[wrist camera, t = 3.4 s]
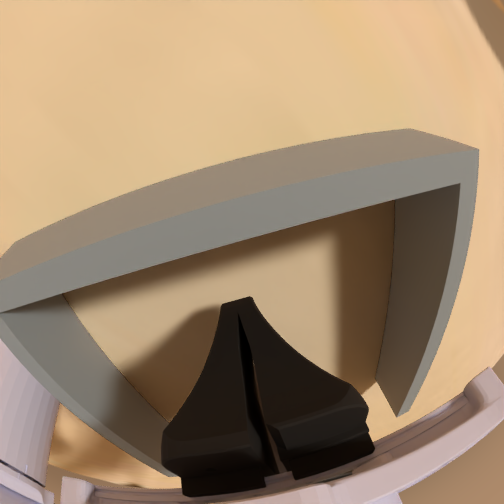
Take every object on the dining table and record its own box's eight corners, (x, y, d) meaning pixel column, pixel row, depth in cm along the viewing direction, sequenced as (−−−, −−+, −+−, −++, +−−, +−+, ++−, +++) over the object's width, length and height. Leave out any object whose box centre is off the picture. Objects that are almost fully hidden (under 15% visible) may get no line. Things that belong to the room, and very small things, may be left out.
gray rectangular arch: (167, 433, 21) (168, 476, 17) (15, 242, 10) (-31, 294, 7) (386, 373, 22) (408, 411, 18) (410, 128, 11) (479, 149, 7)
